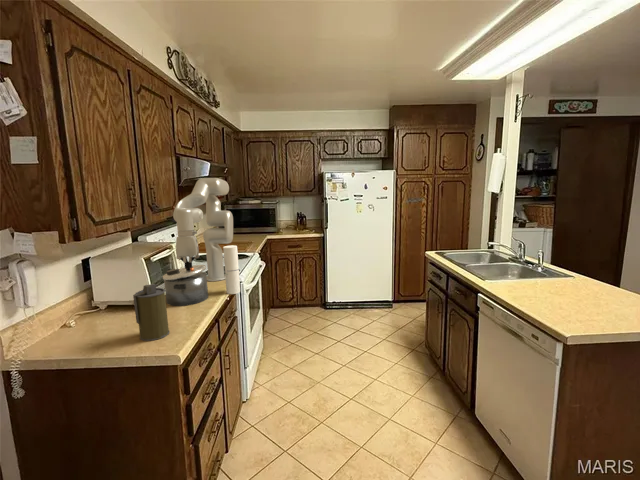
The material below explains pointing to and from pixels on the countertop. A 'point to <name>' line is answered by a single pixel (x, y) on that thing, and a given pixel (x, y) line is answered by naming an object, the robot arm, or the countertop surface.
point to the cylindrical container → (231, 269)
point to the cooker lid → (183, 272)
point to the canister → (151, 313)
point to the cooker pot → (186, 290)
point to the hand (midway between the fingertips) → (188, 270)
